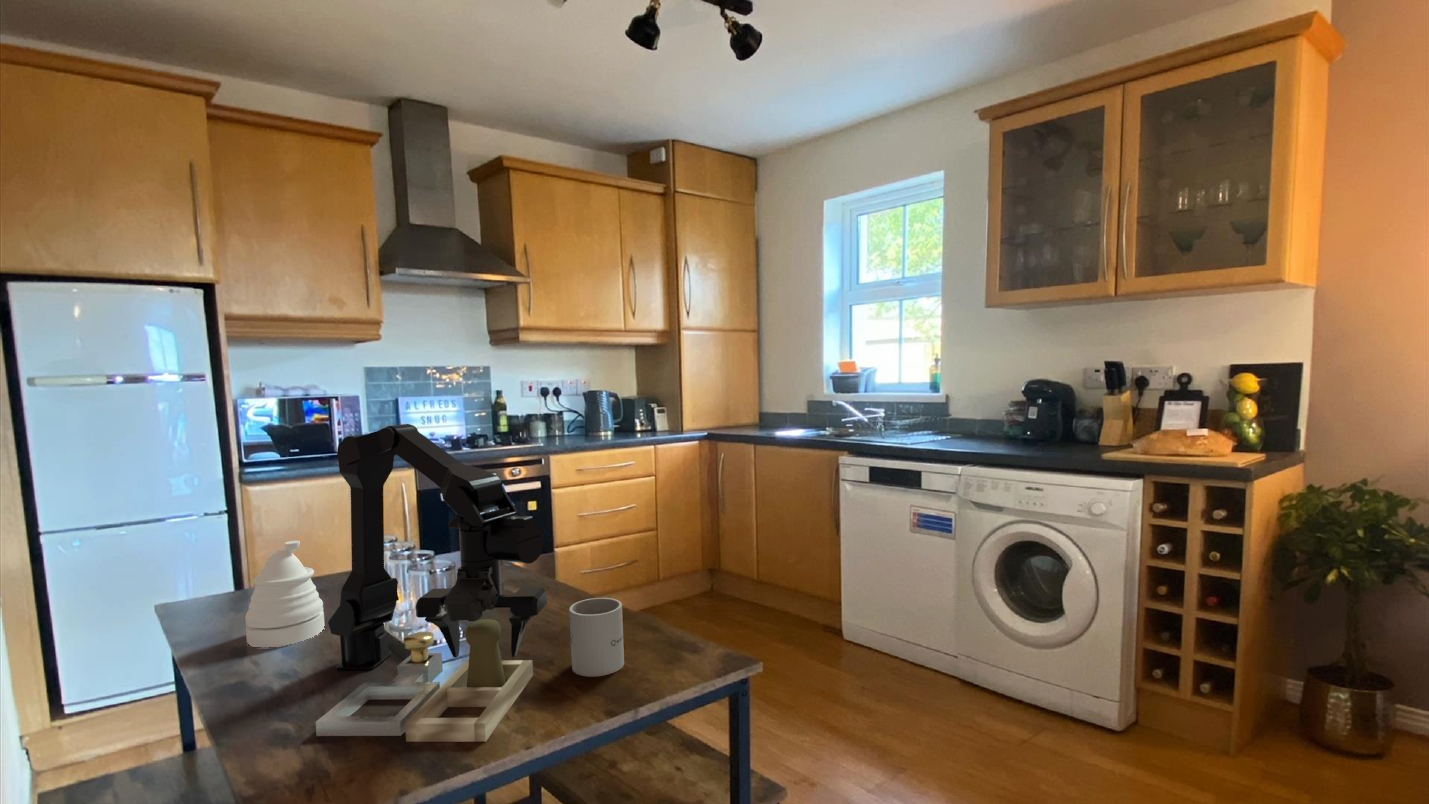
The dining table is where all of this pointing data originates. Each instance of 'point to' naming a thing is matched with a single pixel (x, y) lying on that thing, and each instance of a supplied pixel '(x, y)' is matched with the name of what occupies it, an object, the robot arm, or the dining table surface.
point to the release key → (419, 646)
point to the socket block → (406, 685)
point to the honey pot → (284, 602)
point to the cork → (484, 654)
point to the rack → (456, 694)
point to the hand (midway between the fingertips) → (485, 656)
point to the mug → (596, 636)
